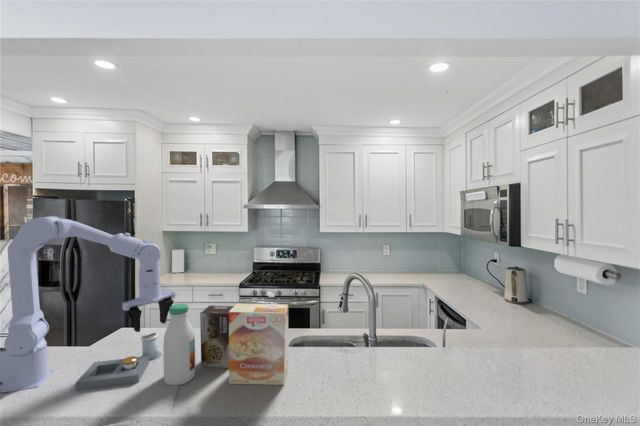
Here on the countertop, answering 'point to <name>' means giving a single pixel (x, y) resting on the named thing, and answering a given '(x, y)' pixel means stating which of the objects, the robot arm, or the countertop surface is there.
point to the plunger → (129, 363)
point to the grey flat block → (111, 374)
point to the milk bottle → (179, 347)
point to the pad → (157, 355)
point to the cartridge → (149, 345)
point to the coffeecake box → (258, 344)
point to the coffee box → (215, 336)
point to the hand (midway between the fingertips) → (150, 326)
